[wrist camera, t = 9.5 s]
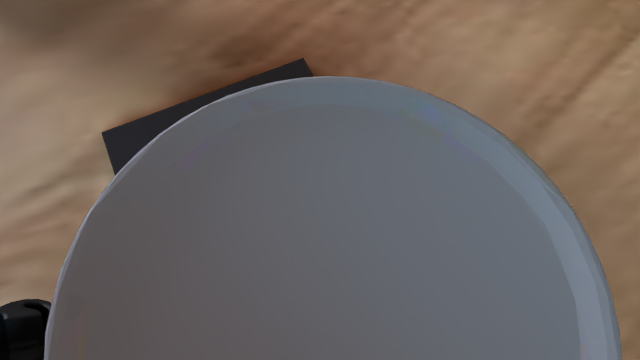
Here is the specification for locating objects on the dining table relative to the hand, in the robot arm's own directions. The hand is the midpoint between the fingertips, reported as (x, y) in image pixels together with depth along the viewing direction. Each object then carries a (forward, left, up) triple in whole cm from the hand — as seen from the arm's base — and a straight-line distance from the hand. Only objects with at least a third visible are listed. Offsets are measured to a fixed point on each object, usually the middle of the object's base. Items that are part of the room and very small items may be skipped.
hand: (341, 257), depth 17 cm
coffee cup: (+3, -2, -4) cm, 5 cm away
